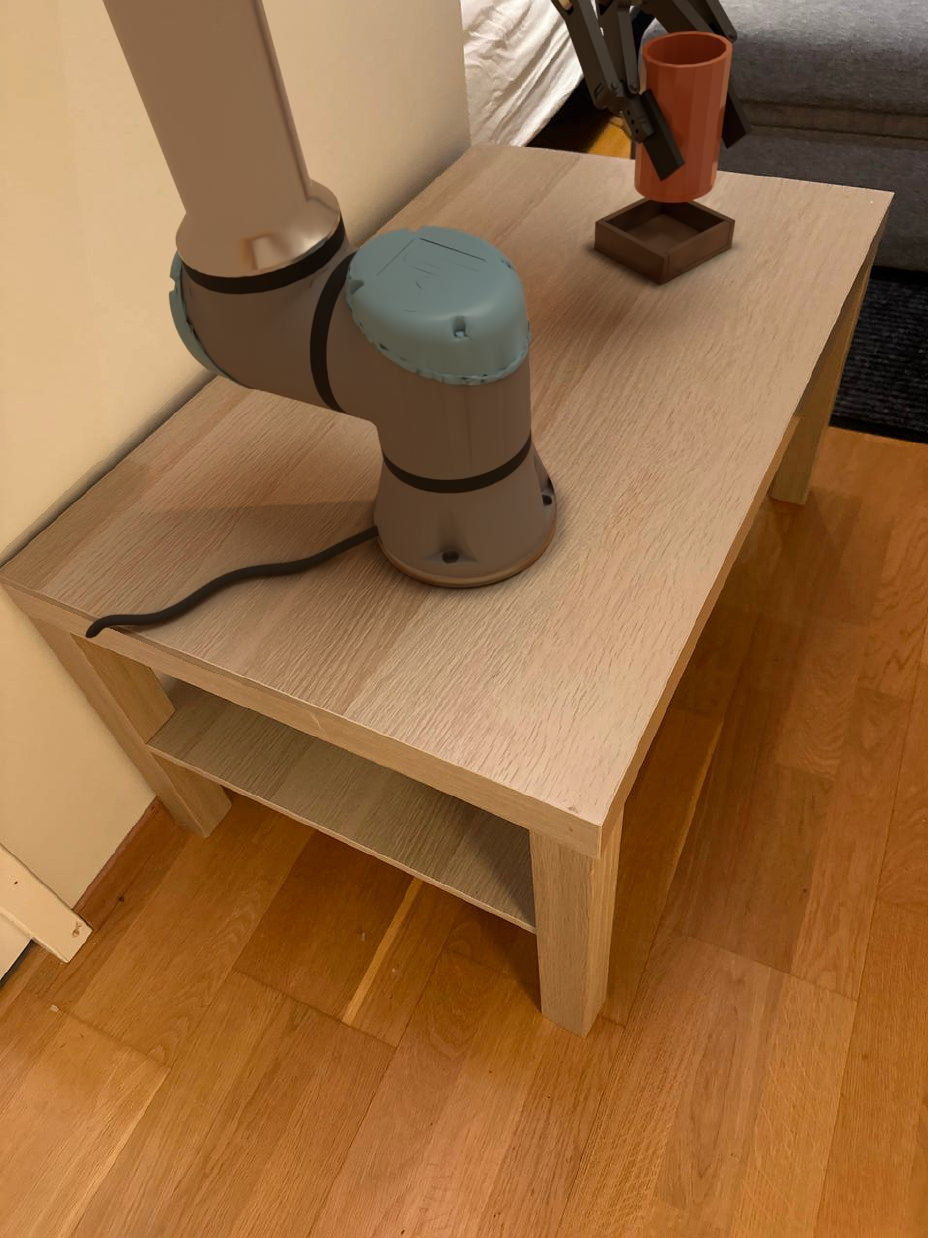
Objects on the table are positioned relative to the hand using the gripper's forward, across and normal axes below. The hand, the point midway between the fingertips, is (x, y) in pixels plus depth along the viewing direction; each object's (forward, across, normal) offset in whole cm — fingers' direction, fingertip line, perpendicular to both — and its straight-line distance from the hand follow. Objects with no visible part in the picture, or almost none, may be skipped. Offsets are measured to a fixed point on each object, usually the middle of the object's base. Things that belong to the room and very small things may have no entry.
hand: (706, 155), depth 77 cm
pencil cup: (0, 0, -5) cm, 5 cm away
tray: (+3, -8, -21) cm, 23 cm away
